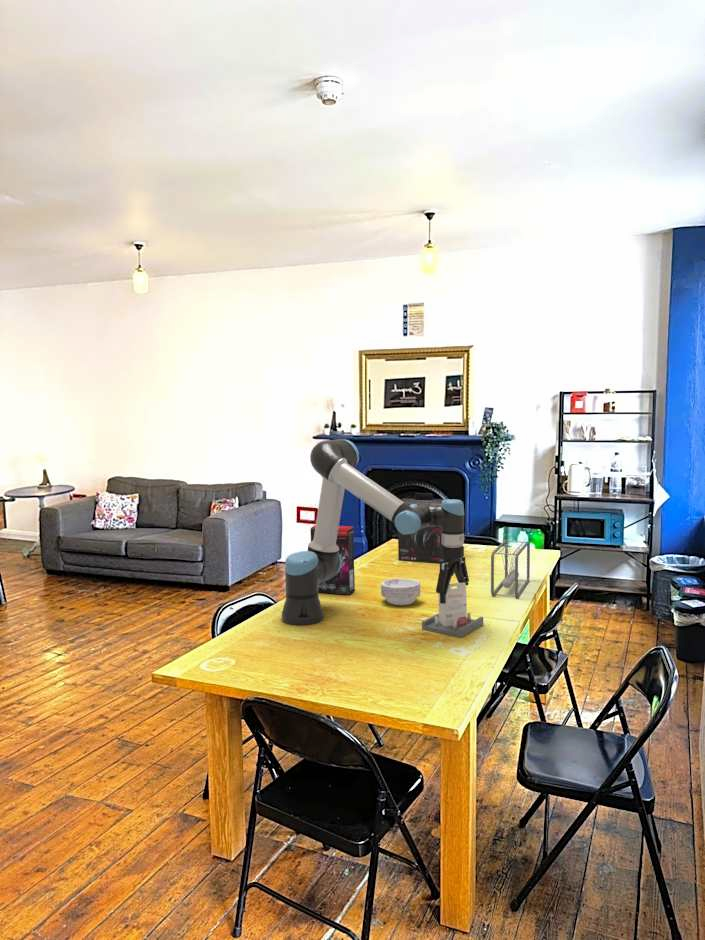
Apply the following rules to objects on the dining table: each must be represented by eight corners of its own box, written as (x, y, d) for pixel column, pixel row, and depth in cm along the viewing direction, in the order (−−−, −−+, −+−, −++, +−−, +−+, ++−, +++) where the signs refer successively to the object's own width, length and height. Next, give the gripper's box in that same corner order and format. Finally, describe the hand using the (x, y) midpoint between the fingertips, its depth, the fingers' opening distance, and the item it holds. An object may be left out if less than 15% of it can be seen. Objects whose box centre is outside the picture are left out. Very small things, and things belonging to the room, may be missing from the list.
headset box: (396, 560, 340) (396, 493, 336) (404, 555, 351) (404, 490, 348) (446, 564, 330) (445, 495, 327) (452, 558, 342) (452, 492, 339)
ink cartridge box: (461, 620, 241) (461, 578, 240) (467, 624, 237) (467, 582, 235) (438, 622, 239) (437, 580, 238) (443, 627, 234) (443, 584, 233)
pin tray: (461, 637, 227) (461, 625, 227) (422, 629, 236) (421, 617, 236) (483, 624, 240) (483, 612, 240) (445, 617, 249) (445, 605, 249)
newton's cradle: (517, 599, 270) (517, 554, 269) (490, 597, 274) (490, 552, 273) (529, 581, 298) (530, 540, 296) (505, 579, 302) (505, 538, 300)
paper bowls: (392, 595, 279) (392, 575, 278) (426, 600, 271) (426, 580, 270) (374, 604, 266) (373, 584, 265) (409, 610, 258) (409, 589, 257)
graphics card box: (310, 592, 284) (309, 527, 282) (317, 588, 291) (315, 524, 288) (350, 595, 279) (348, 529, 276) (355, 591, 285) (354, 526, 283)
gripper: (445, 552, 224) (445, 618, 226) (478, 540, 243) (478, 601, 245) (425, 550, 228) (425, 614, 230) (459, 538, 247) (459, 598, 249)
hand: (452, 607), depth 237 cm, fingers open, 11 cm apart
